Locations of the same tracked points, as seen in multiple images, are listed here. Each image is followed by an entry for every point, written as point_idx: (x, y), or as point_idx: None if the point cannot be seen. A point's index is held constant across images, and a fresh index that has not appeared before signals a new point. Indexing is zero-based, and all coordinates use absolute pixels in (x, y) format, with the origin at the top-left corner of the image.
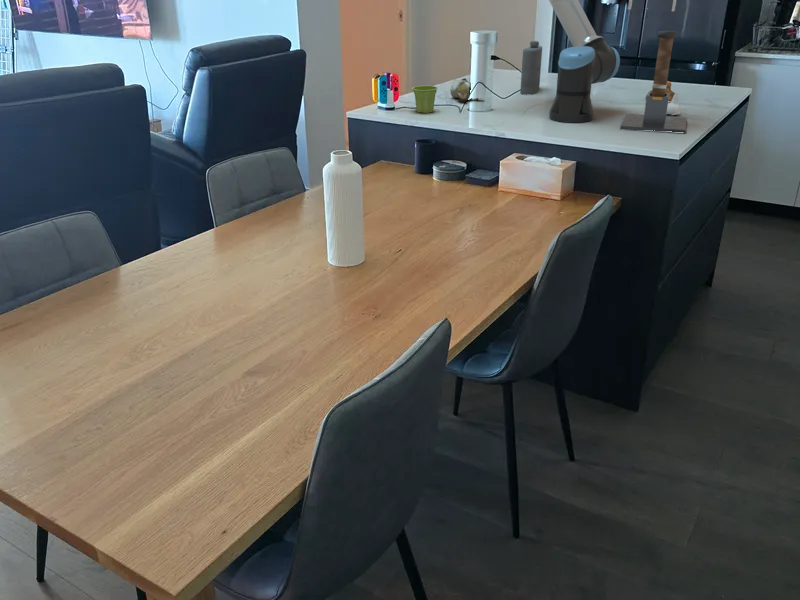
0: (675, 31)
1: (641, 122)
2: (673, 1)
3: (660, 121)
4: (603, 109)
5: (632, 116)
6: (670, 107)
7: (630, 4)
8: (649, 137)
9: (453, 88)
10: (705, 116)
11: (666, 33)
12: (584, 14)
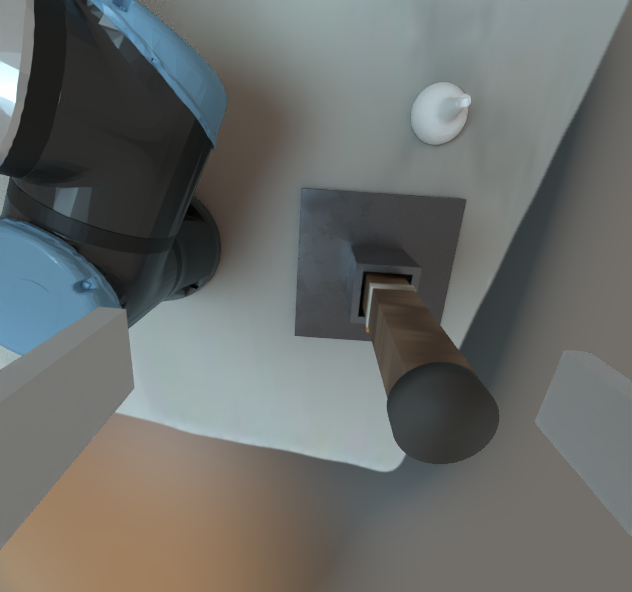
0: (493, 406)
1: (342, 292)
2: (608, 506)
3: None
4: (228, 83)
5: (319, 225)
6: (432, 137)
7: (100, 423)
8: (356, 384)
9: None
10: (534, 117)
11: (430, 458)
12: None
